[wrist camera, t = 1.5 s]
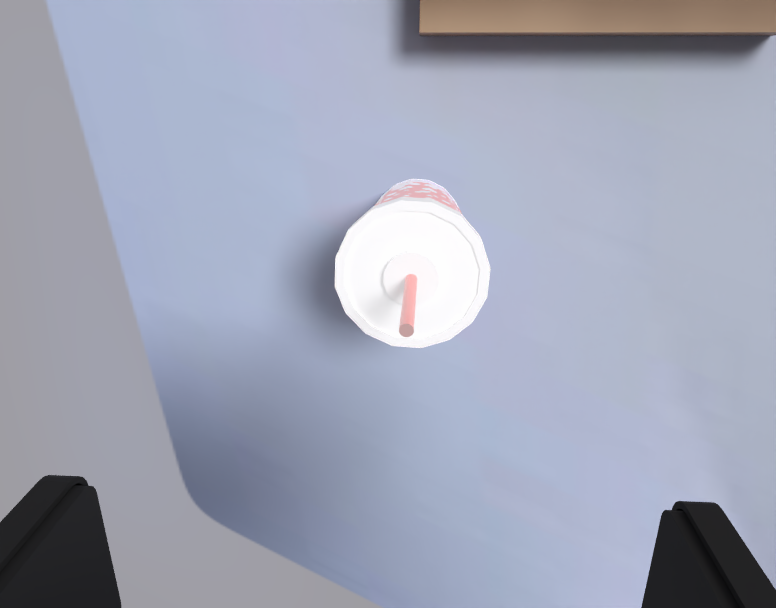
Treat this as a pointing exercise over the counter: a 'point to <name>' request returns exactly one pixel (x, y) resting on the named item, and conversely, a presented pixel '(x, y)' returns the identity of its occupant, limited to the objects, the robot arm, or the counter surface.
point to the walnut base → (597, 17)
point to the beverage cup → (412, 267)
